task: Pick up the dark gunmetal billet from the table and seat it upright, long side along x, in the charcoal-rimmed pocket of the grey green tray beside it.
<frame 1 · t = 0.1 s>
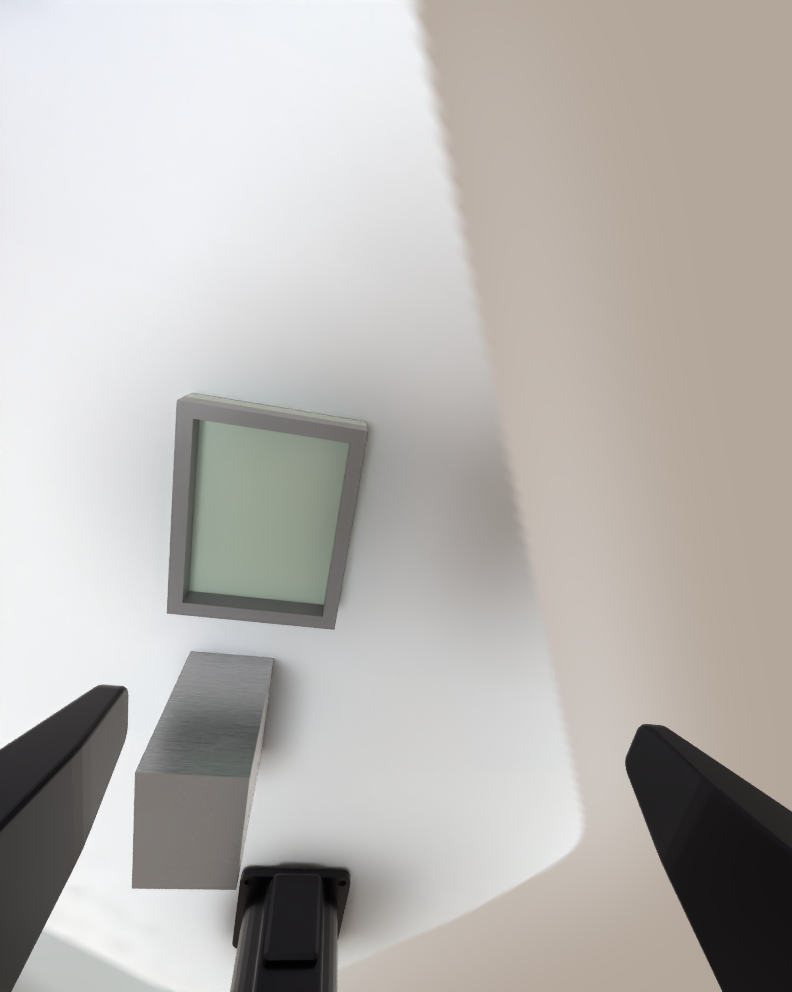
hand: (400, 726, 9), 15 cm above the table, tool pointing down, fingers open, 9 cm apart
grey green tray: (269, 508, 22), on the table
billet: (228, 703, 25), on the table
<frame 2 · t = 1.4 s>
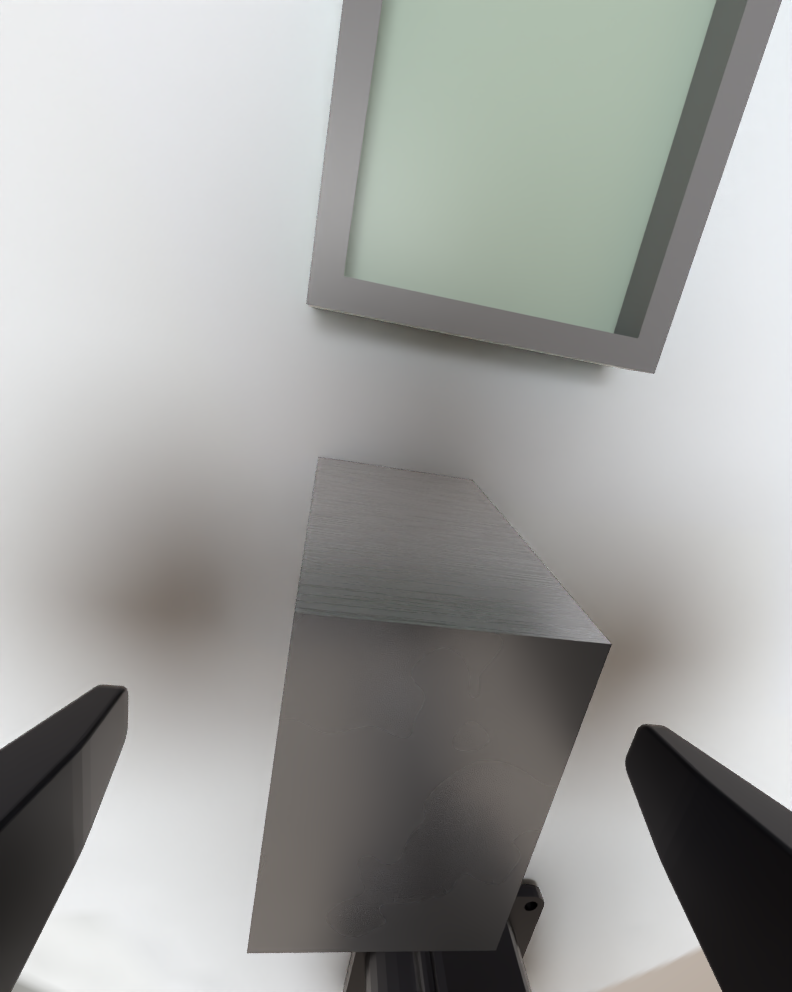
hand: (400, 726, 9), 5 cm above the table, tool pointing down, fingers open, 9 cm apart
grey green tray: (517, 107, 10), on the table
billet: (377, 573, 13), on the table
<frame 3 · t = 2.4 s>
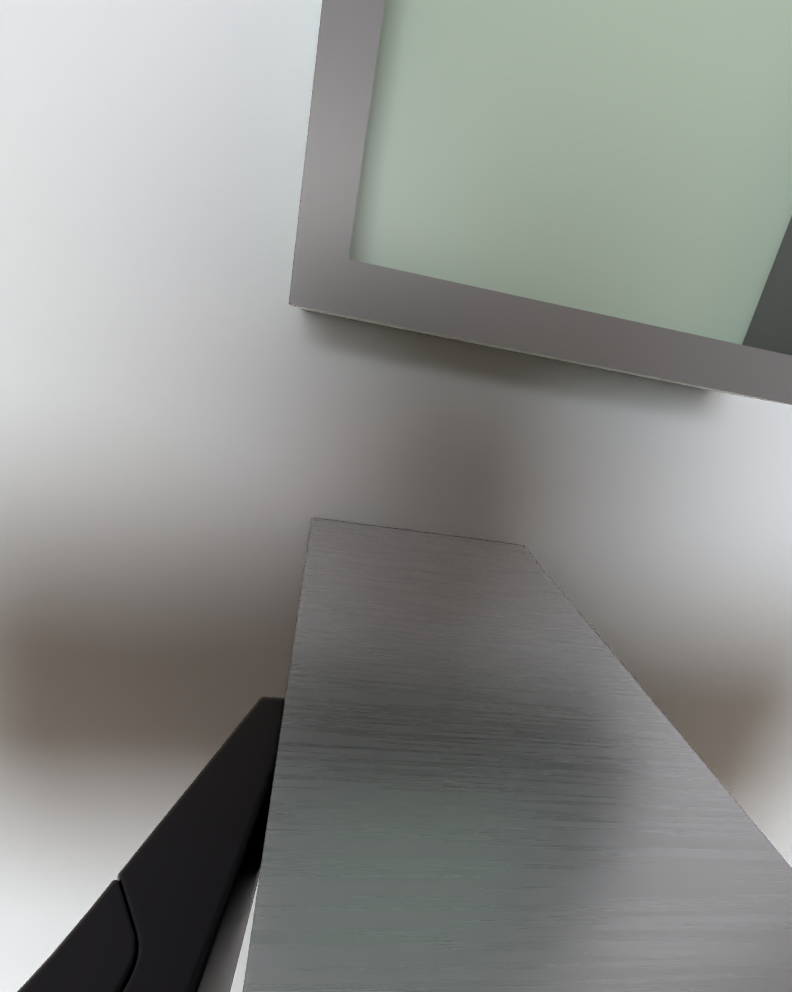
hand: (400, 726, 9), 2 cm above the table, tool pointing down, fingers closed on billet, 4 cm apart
grey green tray: (608, 8, 7), on the table
billet: (391, 667, 10), on the table, touching gripper
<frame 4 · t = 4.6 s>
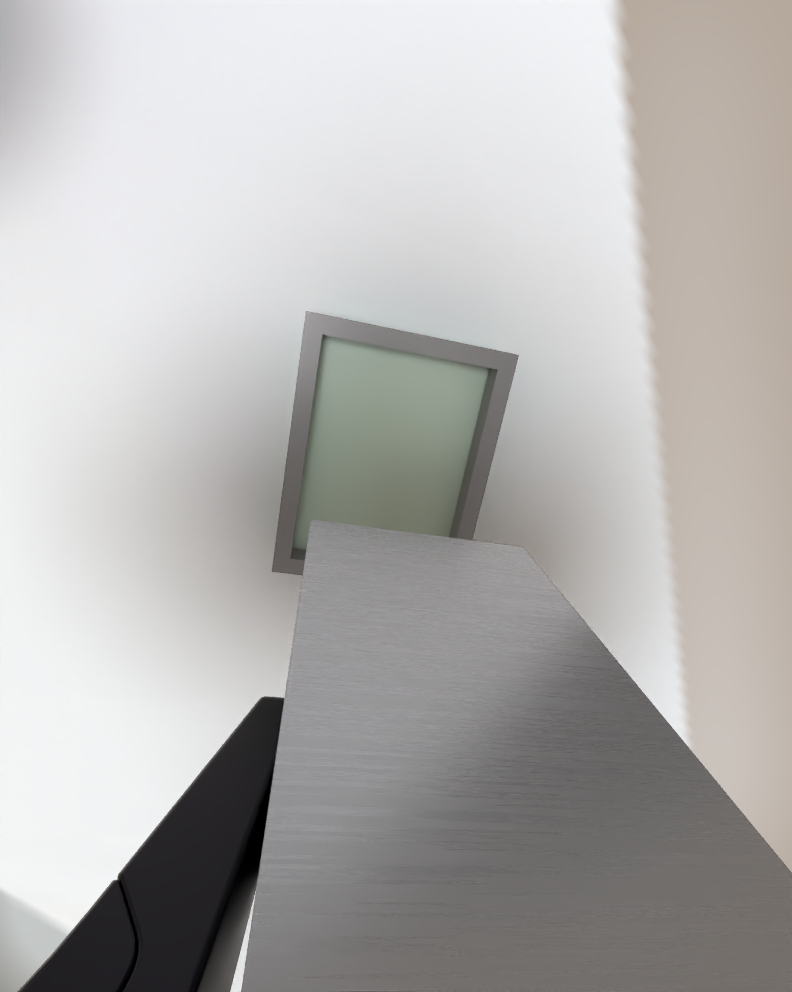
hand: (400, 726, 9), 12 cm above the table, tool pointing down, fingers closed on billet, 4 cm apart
grey green tray: (385, 455, 19), on the table
billet: (391, 669, 10), point 11 cm above the table, touching gripper
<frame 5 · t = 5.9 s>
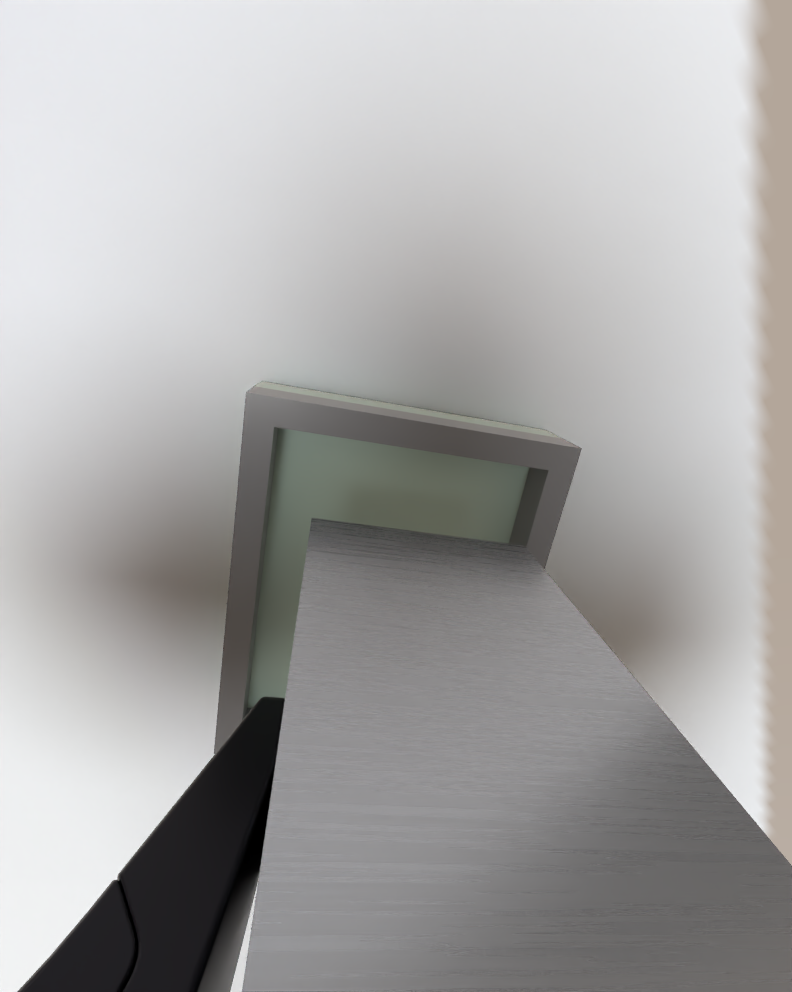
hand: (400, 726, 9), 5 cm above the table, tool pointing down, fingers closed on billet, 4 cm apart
grey green tray: (378, 572, 14), on the table
billet: (392, 668, 10), point 4 cm above the table, touching gripper
when the fingers open (3 cm above the table, at t = 6.7 s): billet stays where it is, resting on grey green tray.
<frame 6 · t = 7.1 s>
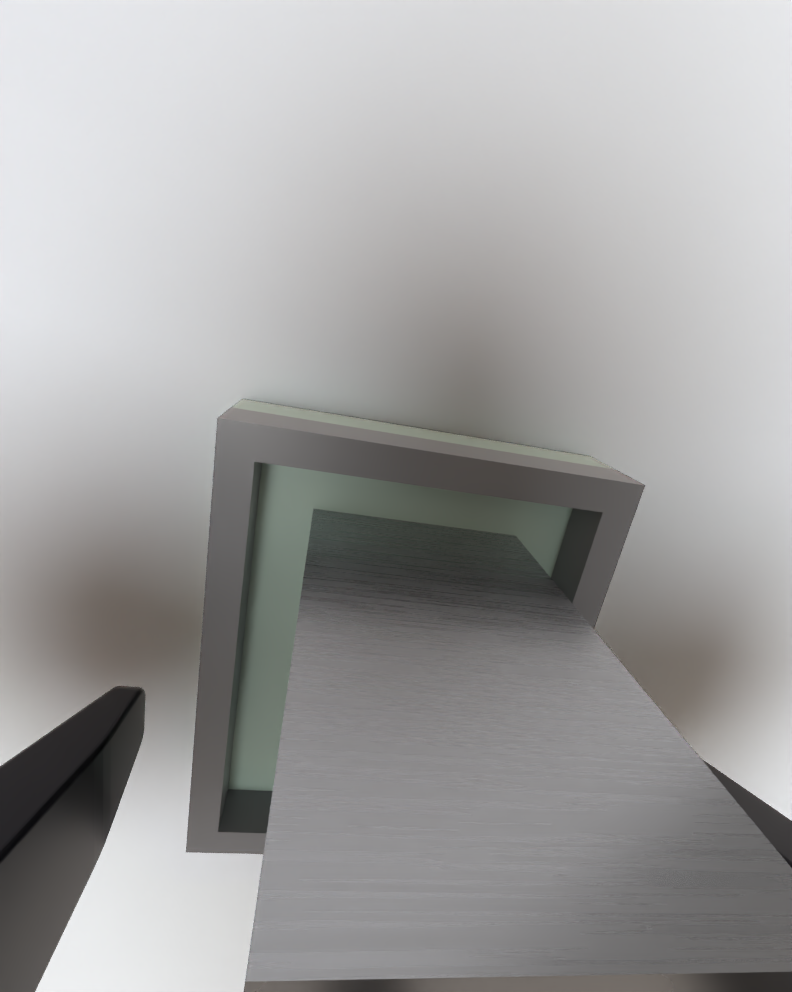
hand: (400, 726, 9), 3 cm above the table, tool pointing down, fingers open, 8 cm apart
grey green tray: (386, 624, 11), on the table
billet: (390, 653, 10), point 1 cm above the table, touching grey green tray
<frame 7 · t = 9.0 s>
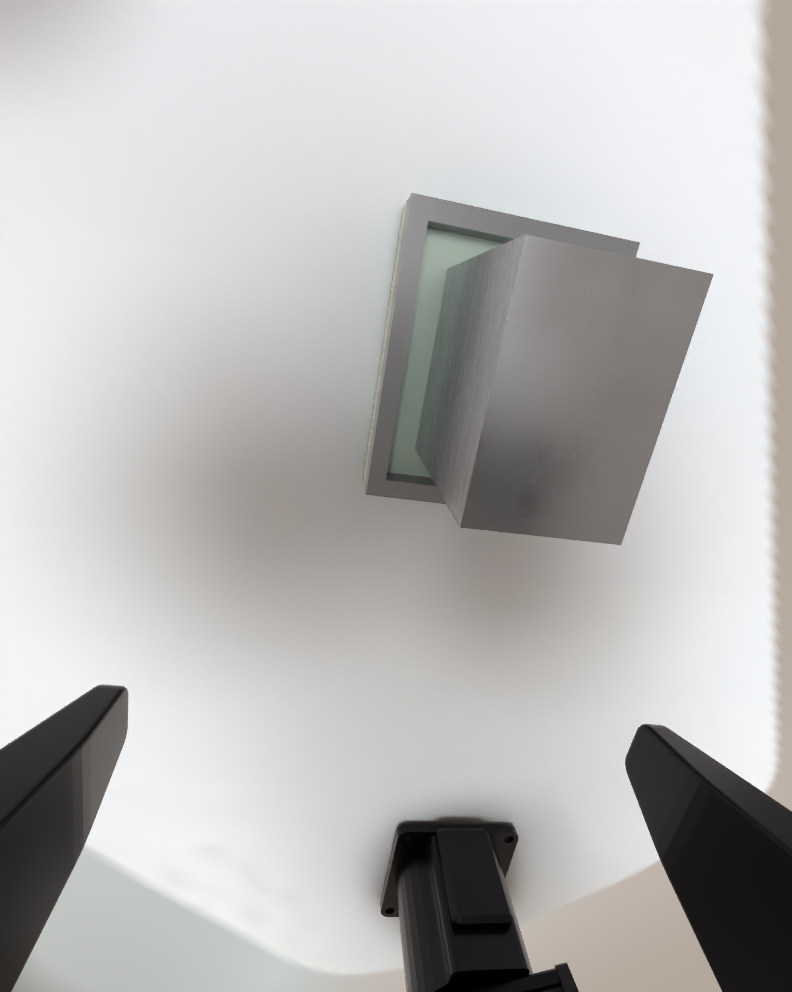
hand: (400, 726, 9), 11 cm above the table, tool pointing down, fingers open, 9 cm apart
grey green tray: (478, 369, 18), on the table
billet: (486, 373, 17), point 1 cm above the table, touching grey green tray
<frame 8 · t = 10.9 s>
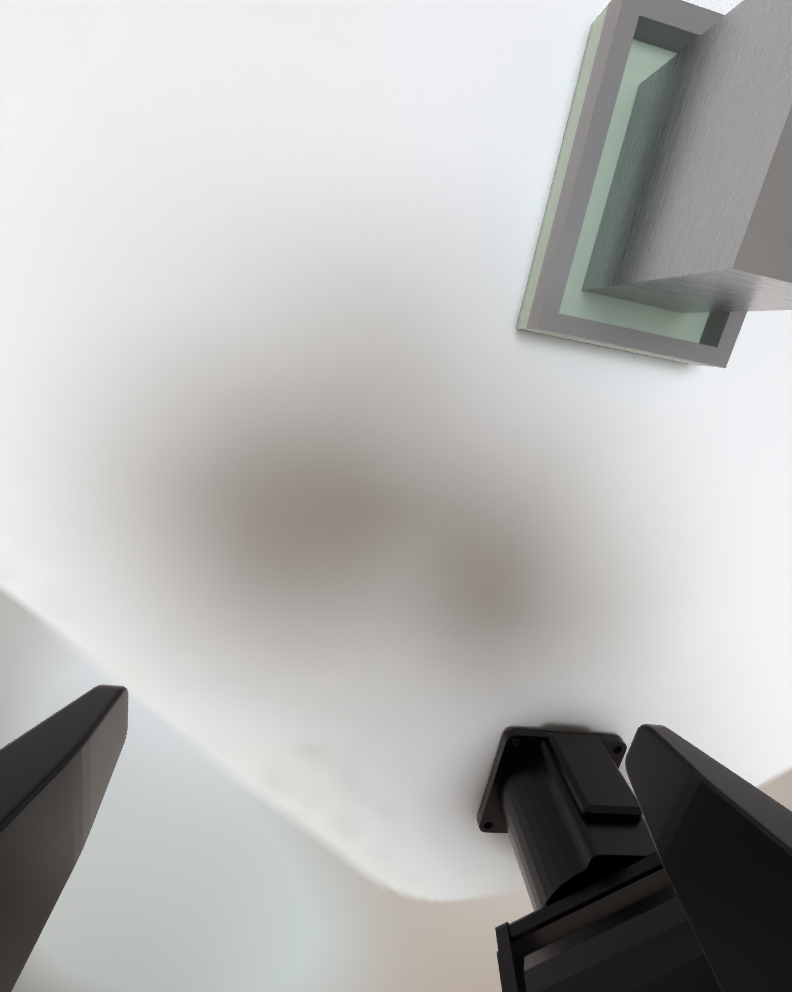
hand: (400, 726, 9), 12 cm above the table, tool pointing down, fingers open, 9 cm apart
grey green tray: (645, 212, 17), on the table
billet: (662, 207, 16), point 1 cm above the table, touching grey green tray
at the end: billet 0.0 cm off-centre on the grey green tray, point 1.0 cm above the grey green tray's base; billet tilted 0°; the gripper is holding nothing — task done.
